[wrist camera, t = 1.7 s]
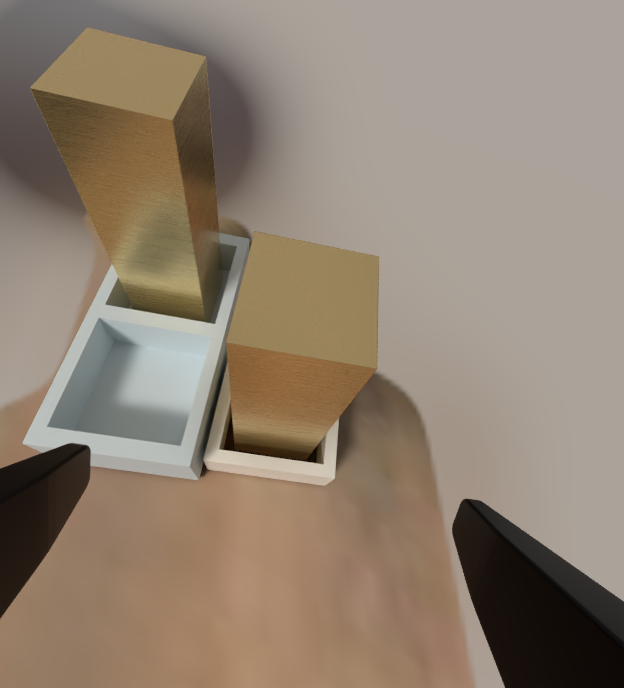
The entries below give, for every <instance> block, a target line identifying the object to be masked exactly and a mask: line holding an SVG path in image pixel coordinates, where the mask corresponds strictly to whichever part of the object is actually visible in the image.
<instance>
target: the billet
mask: <svg viewBox="0 0 624 688" xmlns="http://www.w3.org/2000/svg"><path fill="white" fill-rule="evenodd" d="M378 281H379V257H378V256H374V255H368V254H364V253H359V252H354V251H349V250H344V249H339V248H334V247H329V246H324V245H319V244H315V243H310V242H305V241H300V240H295V239H289V238H285V237H279V236H275V235H270V234H265V233H260V232H254V236H253V240H252V244H251V248H250V252H249V255H248V259H247V263H246V267H245V271H244V275H243V279H242V283H241V287H240V291H239V294H238V298H237V302H236V306H235V310H234V314H233V318H232V322H231V326H230V329H229V333H228V337H227V341H226V347H227V360H228V372H229V384H230V397H231V409H232V421H233V434H234V446H235V450H238V451H244V452H251V453H258V454H265V455H272V456H279V457H286V458H293V459H300V460H306V459H307V458H308V457H309V455H310V454H311V453H312V452H313V450H314V449H315V448H316V446H317V445H318V444H319V443H320V441H321V440H322V439H323V437H324V436H325V435H326V434H327V432H328V431H329V430H330V428H331V427H332V426H333V425H334V423H335V422H336V421H337V419H338V418H339V417H340V416H341V414H342V413H343V412H344V410H345V409H346V408H347V407H348V405H349V404H350V403H351V401H352V400H353V399H354V398H355V396H356V395H357V394H358V392H359V391H360V390H361V389H362V387H363V386H364V385H365V383H366V382H367V381H368V380H369V378H370V377H371V376H372V374H373V373H374V372H375V371H376V369H377V343H378V340H377V339H378V285H379V283H378Z"/></svg>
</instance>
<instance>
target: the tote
mask: <svg viewBox="0 0 624 688" xmlns="http://www.w3.org/2000/svg"><path fill="white" fill-rule="evenodd" d="M231 415H232V409H231V397H230V384H229V372H228V362H227V366H226V370H225V374H224V378H223V383H222V387H221V391H220V395H219V399H218V403H217V407H216V411H215V415H214V419H213V423H212V427H211V431H210V435H209V439H208V443H207V447H206V451H205V455H204V459H203V461H204V463H205V465H206V467H207V469H208V470H216V471H223V472H230V473H237V474H244V475H252V476H259V477H266V478H273V479H281V480H288V481H295V482H302V483H309V484H317V485H324V486H325V485H326V484H328V483H329V482H331V481H332V480H334V479H335V468H336V453H337V439H338V425H339V418H338V419H337V421H336V422H335V423H334V425H333V426H332V427H331V428H330V430H329V431H328V432H327V434H326V435H325V436H324V437H323V439H322V440H321V441H320V443H319V444H318V448H317V458H316V463H310V462H303V461H296V460H289V459H282V458H276V457H269V456H262V455H255V454H248V453H241V452H234V451H227V450H224V446H225V441H226V437H227V433H228V428H229V424H230V419H231Z"/></svg>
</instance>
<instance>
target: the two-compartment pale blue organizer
mask: <svg viewBox="0 0 624 688" xmlns="http://www.w3.org/2000/svg"><path fill="white" fill-rule="evenodd" d="M219 238H220V251H221V265H222V278H223V281H222V284H221V288H220V291H219V294H218V298H217V301H216V305H215V308H214V312H213V315H212V318H211V322H210V323H206V322H201V321H195V320H189V319H184V318H178V317H172V316H167V315H161V314H155V313H150V312H144V311H138V310H133V308H132V305H131V303H130V301H129V299H128V297H127V295H126V293H125V290H124V288H123V286H122V284H121V282H120V280H119V278H118V275H117V273H116V271H115V269H114V267H113V265H111V267H110V269H109V271H108V273H107V275H106V277H105V279H104V281H103V283H102V285H101V287H100V289H99V291H98V293H97V295H96V297H95V299H94V301H93V303H92V305H91V307H90V309H89V311H88V313H87V315H86V317H85V319H84V321H83V323H82V325H81V327H80V329H79V331H78V333H77V335H76V337H75V339H74V341H73V343H72V345H71V347H70V349H69V351H68V353H67V355H66V357H65V359H64V361H63V363H62V365H61V367H60V369H59V371H58V373H57V375H56V377H55V379H54V381H53V383H52V385H51V387H50V389H49V391H48V393H47V395H46V397H45V399H44V401H43V403H42V405H41V407H40V409H39V411H38V413H37V415H36V417H35V419H34V421H33V423H32V425H31V427H30V429H29V431H28V433H27V435H26V437H25V439H24V441H23V443H22V444H24V445H27V446H29V447H31V448H33V449H36V450H38V451H40V452H42V453H44V452H46V451H49V450H52V449H54V448H57V447H60V446H63V445H65V444H68V443H77V444H84V445H88V446H89V447H90V450H91V463H90V466H96V467H104V468H111V469H118V470H126V471H133V472H141V473H148V474H155V475H163V476H170V477H177V478H185V479H192V480H199V479H200V475H201V471H202V466H203V462H204V461H203V459H204V455H205V451H206V447H207V443H208V439H209V435H210V431H211V427H212V423H213V419H214V415H215V411H216V407H217V403H218V399H219V395H220V391H221V387H222V383H223V378H224V374H225V370H226V366H227V362H228V360H227V347H226V341H227V337H228V333H229V329H230V326H231V322H232V318H233V314H234V310H235V306H236V302H237V298H238V294H239V291H240V287H241V283H242V279H243V275H244V271H245V267H246V263H247V259H248V255H249V239H248V238H243V237H238V236H233V235H228V234H223V233H219Z"/></svg>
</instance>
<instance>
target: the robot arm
mask: <svg viewBox="0 0 624 688" xmlns="http://www.w3.org/2000/svg"><path fill="white" fill-rule="evenodd" d="M90 463H91V450H90V447H89V446H88V445H84V444H77V443H68V444H65V445H63V446H60V447H57V448H54V449H52V450H49V451H46V452H44V453H41V454H38V455H36V456H33V457H30V458H28V459H25V460H22V461H20V462H17V463H14V464H12V465H9V466H6V467H3V468H1V469H0V618H1V617H2V616H3V614H4V613H5V611H6V610H7V609H8V607H9V606H10V605H11V603H12V602H13V600H14V599H15V598H16V596H17V595H18V593H19V592H20V591H21V589H22V588H23V587H24V585H25V584H26V582H27V581H28V580H29V578H30V577H31V576H32V574H33V573H34V571H35V570H36V569H37V567H38V566H39V564H40V563H41V562H42V560H43V559H44V557H45V556H46V554H47V553H48V552H49V550H50V548H51V547H52V545H53V543H54V542H55V540H56V538H57V537H58V535H59V533H60V532H61V530H62V528H63V527H64V525H65V523H66V521H67V520H68V518H69V516H70V515H71V513H72V511H73V509H74V508H75V506H76V504H77V503H78V501H79V499H80V498H81V496H82V494H83V492H84V491H85V489H86V487H87V485H88V482H89V479H90ZM452 533H453V538H454V541H455V545H456V548H457V552H458V555H459V559H460V562H461V566H462V569H463V573H464V576H465V580H466V583H467V587H468V590H469V593H470V596H471V599H472V602H473V605H474V608H475V611H476V613H477V616H478V618H479V621H480V624H481V626H482V629H483V631H484V634H485V637H486V639H487V642H488V644H489V647H490V650H491V652H492V655H493V657H494V660H495V662H496V665H497V667H498V670H499V673H500V676H501V678H502V681H503V683H504V686H505V688H624V601H622V600H621V599H619V598H618V597H616V596H615V595H614V594H612V593H610V592H609V591H608V590H607V589H605V588H604V587H602V586H601V585H599V584H598V583H597V582H595V581H593V580H592V579H591V578H589V577H588V576H587V575H585V574H584V573H582V572H581V571H580V570H578V569H577V568H575V567H574V566H572V565H571V564H570V563H568V562H566V561H565V560H564V559H562V558H561V557H560V556H558V555H557V554H555V553H554V552H552V551H551V550H550V549H548V548H547V547H546V546H544V545H543V544H541V543H540V542H538V541H537V540H536V539H534V538H533V537H531V536H530V535H529V534H527V533H526V532H524V531H523V530H521V529H520V528H519V527H517V526H516V525H514V524H513V523H511V522H510V521H509V520H507V519H506V518H504V517H503V516H501V515H500V514H499V513H497V512H496V511H494V510H493V509H492V508H490V507H489V506H487V505H486V504H485V503H483V502H482V501H479V500H472V499H464V500H463V501H462V502H461V504H460V506H459V509H458V512H457V514H456V517H455V520H454V523H453V527H452Z"/></svg>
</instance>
